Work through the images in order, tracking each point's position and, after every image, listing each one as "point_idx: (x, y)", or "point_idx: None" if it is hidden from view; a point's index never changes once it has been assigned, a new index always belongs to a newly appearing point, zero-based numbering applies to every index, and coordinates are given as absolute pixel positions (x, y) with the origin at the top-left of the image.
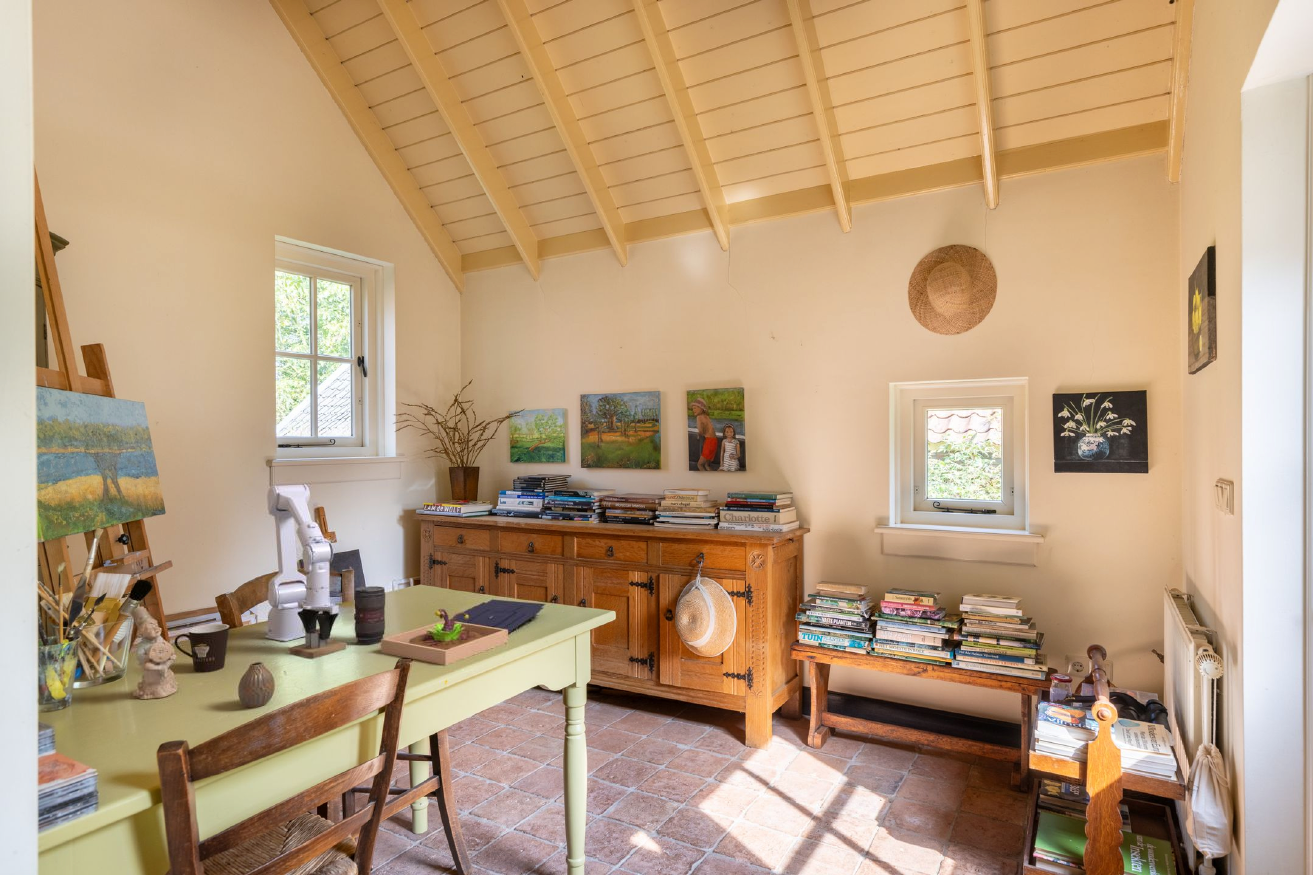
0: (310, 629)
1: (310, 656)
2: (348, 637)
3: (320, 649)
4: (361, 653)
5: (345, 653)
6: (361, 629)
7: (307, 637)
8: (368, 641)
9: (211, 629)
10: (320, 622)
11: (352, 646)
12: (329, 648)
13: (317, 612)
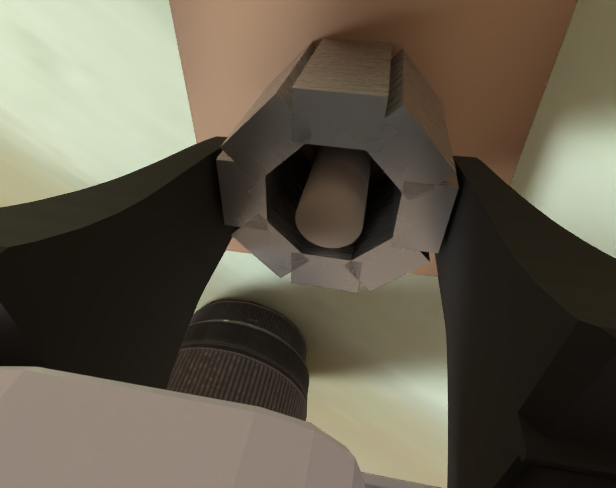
0: (455, 226)
1: None
2: (419, 366)
3: (213, 64)
4: (70, 191)
5: (136, 158)
6: (184, 365)
7: (348, 72)
8: (194, 317)
9: None
10: (58, 205)
11: (246, 267)
12: (193, 125)
13: (453, 466)
